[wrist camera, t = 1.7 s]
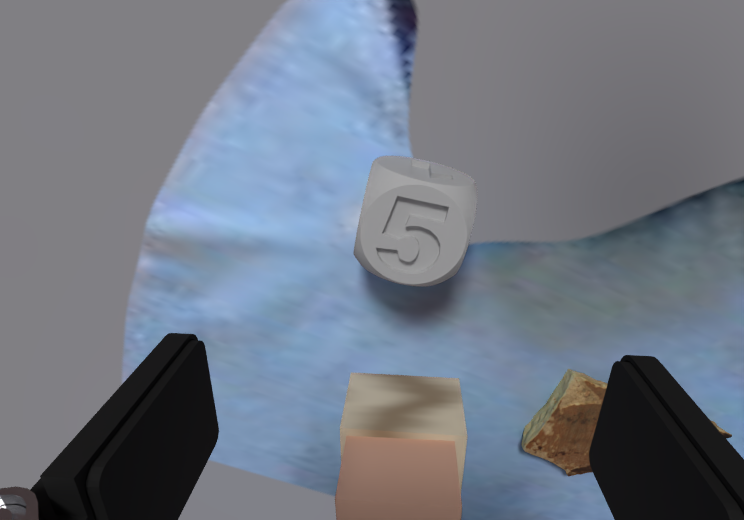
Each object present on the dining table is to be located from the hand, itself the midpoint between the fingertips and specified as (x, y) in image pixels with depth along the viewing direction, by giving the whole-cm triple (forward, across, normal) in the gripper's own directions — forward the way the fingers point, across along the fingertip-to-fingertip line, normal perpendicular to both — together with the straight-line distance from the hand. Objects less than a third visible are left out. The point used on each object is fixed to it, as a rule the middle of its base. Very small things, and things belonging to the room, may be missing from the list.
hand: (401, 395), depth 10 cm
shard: (+16, -14, +13) cm, 25 cm away
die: (+16, 0, 0) cm, 16 cm away
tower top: (+10, 0, +15) cm, 18 cm away
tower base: (+16, 0, +15) cm, 22 cm away
